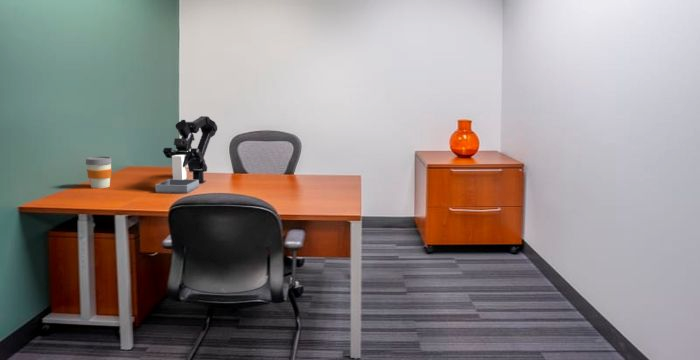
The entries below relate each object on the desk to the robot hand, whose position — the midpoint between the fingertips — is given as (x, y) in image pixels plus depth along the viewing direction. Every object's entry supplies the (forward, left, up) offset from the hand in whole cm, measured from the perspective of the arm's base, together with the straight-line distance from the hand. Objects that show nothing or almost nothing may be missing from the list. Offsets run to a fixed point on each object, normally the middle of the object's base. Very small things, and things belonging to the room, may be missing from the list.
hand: (178, 166), depth 307 cm
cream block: (-1, 0, -7) cm, 7 cm away
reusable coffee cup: (-6, -44, -13) cm, 46 cm away
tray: (-2, -1, -12) cm, 13 cm away
